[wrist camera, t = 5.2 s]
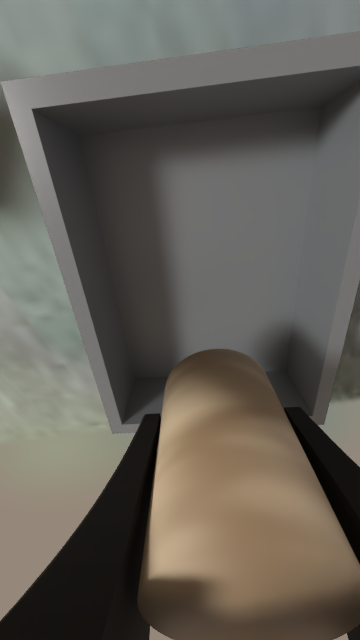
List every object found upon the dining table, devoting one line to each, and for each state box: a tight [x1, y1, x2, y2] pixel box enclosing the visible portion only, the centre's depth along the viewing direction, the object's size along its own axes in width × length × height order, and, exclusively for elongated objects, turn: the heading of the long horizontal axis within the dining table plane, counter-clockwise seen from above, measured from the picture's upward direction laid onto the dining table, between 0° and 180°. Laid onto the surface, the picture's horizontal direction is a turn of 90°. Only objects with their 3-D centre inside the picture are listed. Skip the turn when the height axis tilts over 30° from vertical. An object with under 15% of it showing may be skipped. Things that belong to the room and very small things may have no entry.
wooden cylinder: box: [137, 349, 360, 640], centre depth 9 cm, size 5×5×7 cm
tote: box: [1, 31, 360, 434], centre depth 14 cm, size 14×18×5 cm
